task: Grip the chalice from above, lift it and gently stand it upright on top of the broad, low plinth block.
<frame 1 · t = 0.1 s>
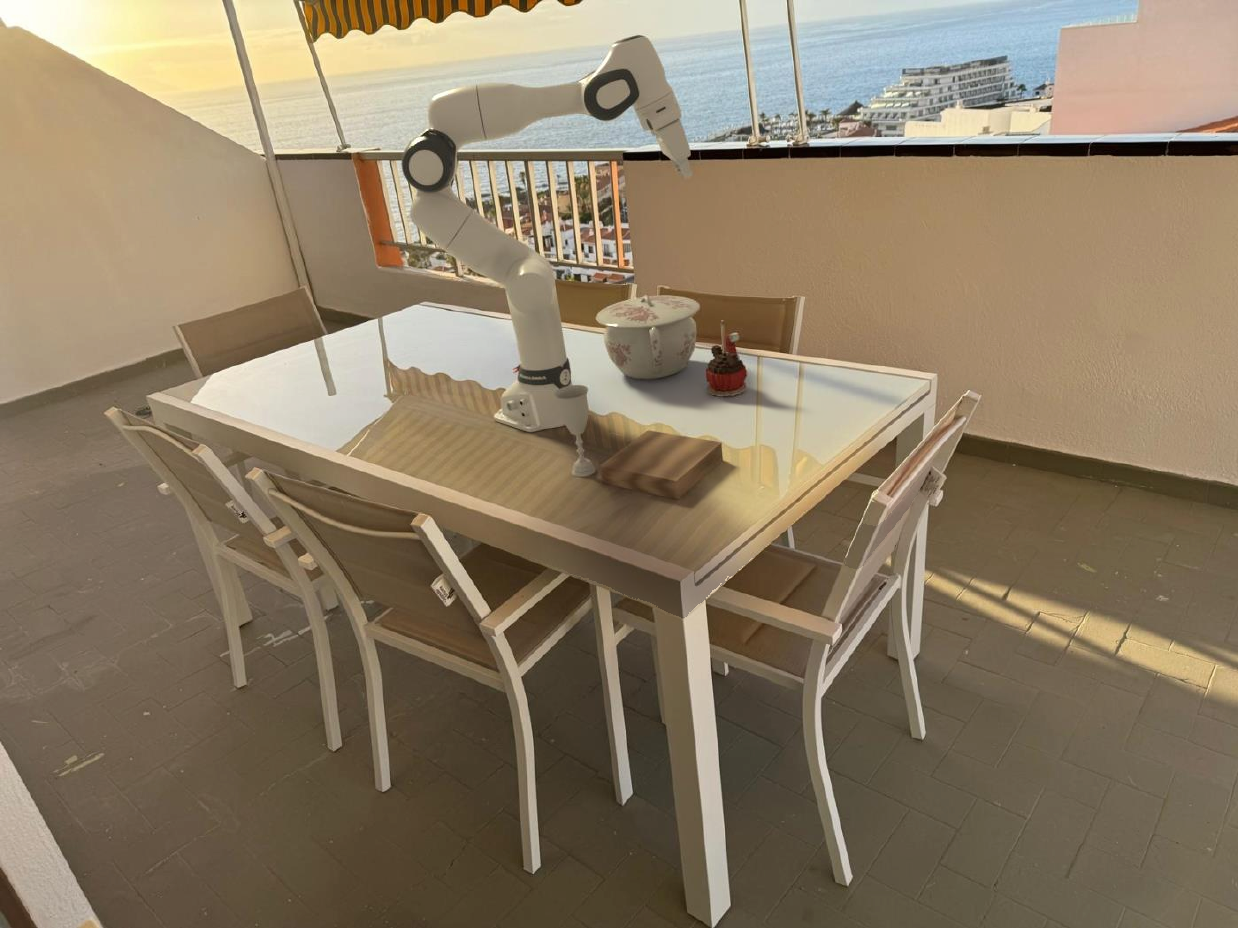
hand: (685, 175, 185), 52 cm above the table, tool tilted 20°, fingers open, 8 cm apart
chamber pot: (653, 371, 227), on the table
plinth: (663, 471, 173), on the table
chalice: (583, 472, 178), on the table
cake: (727, 392, 208), on the table
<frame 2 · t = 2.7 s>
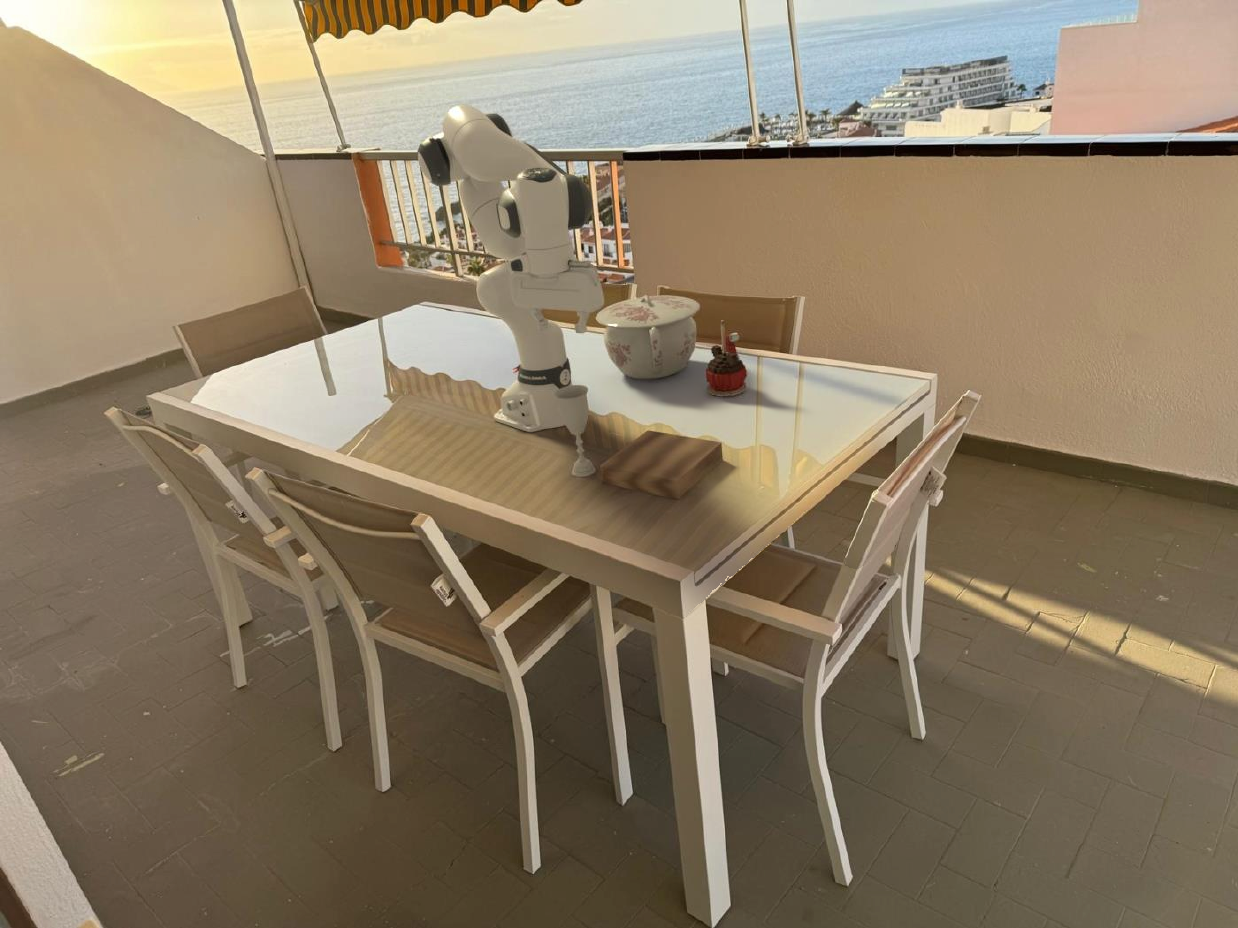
hand: (562, 330, 164), 31 cm above the table, tool pointing down, fingers open, 8 cm apart
nothing on the table moved.
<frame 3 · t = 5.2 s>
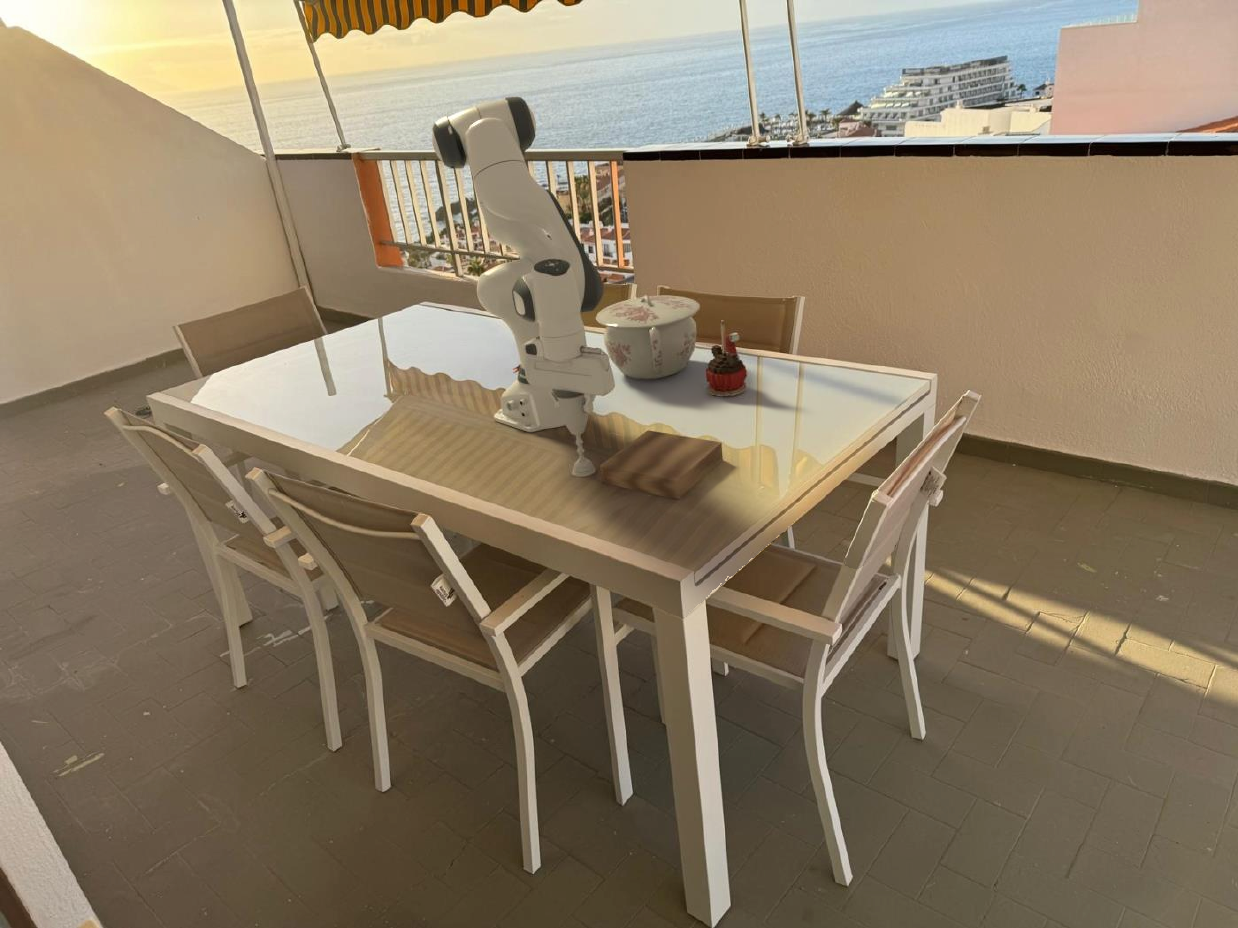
hand: (574, 409, 171), 14 cm above the table, tool pointing down, fingers closed on chalice, 6 cm apart
chalice: (583, 472, 178), on the table, touching gripper
everything else where it was.
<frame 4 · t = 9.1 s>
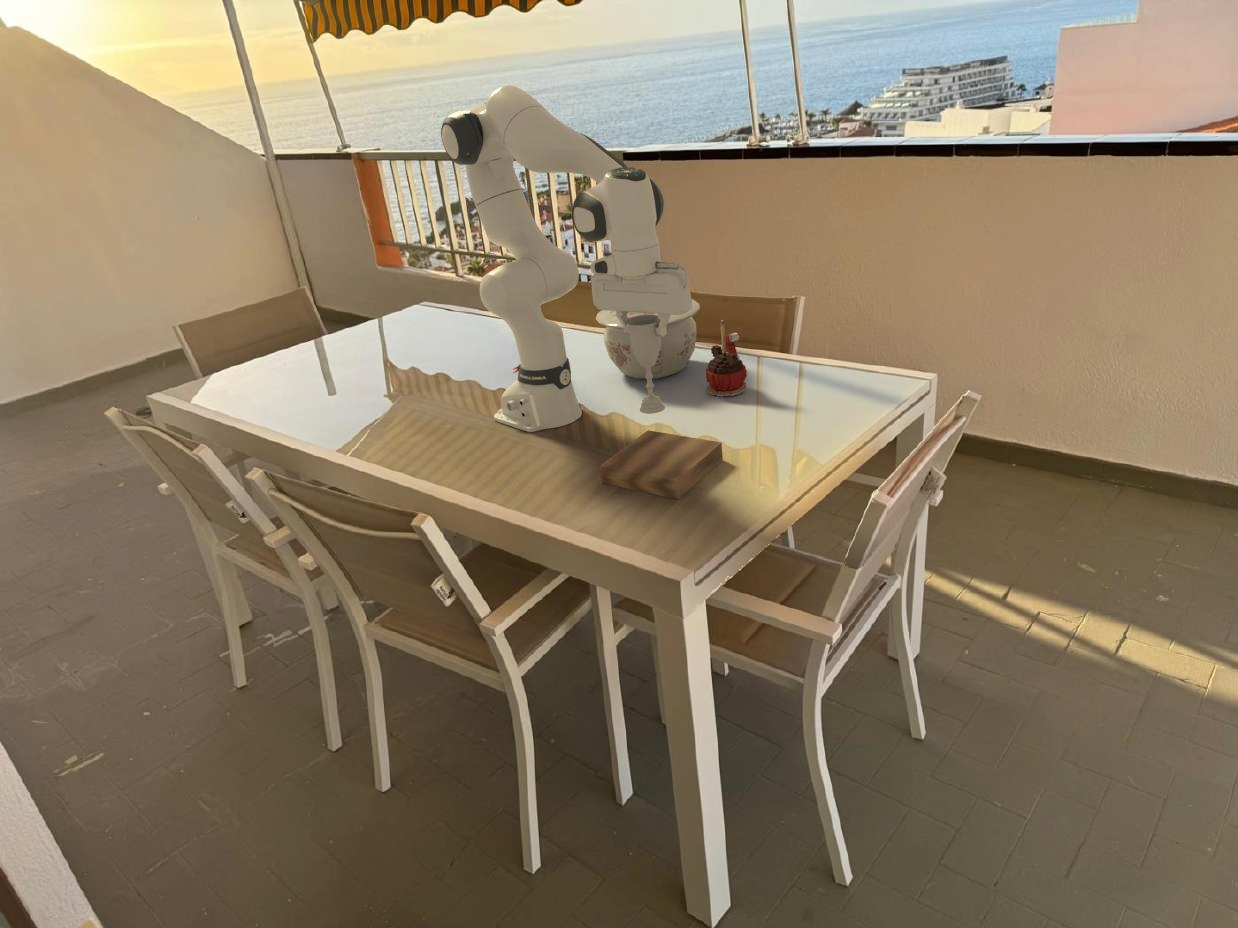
hand: (645, 334, 160), 29 cm above the table, tool pointing down, fingers closed on chalice, 6 cm apart
chalice: (652, 409, 166), point 14 cm above the table, touching gripper
everything else where it was.
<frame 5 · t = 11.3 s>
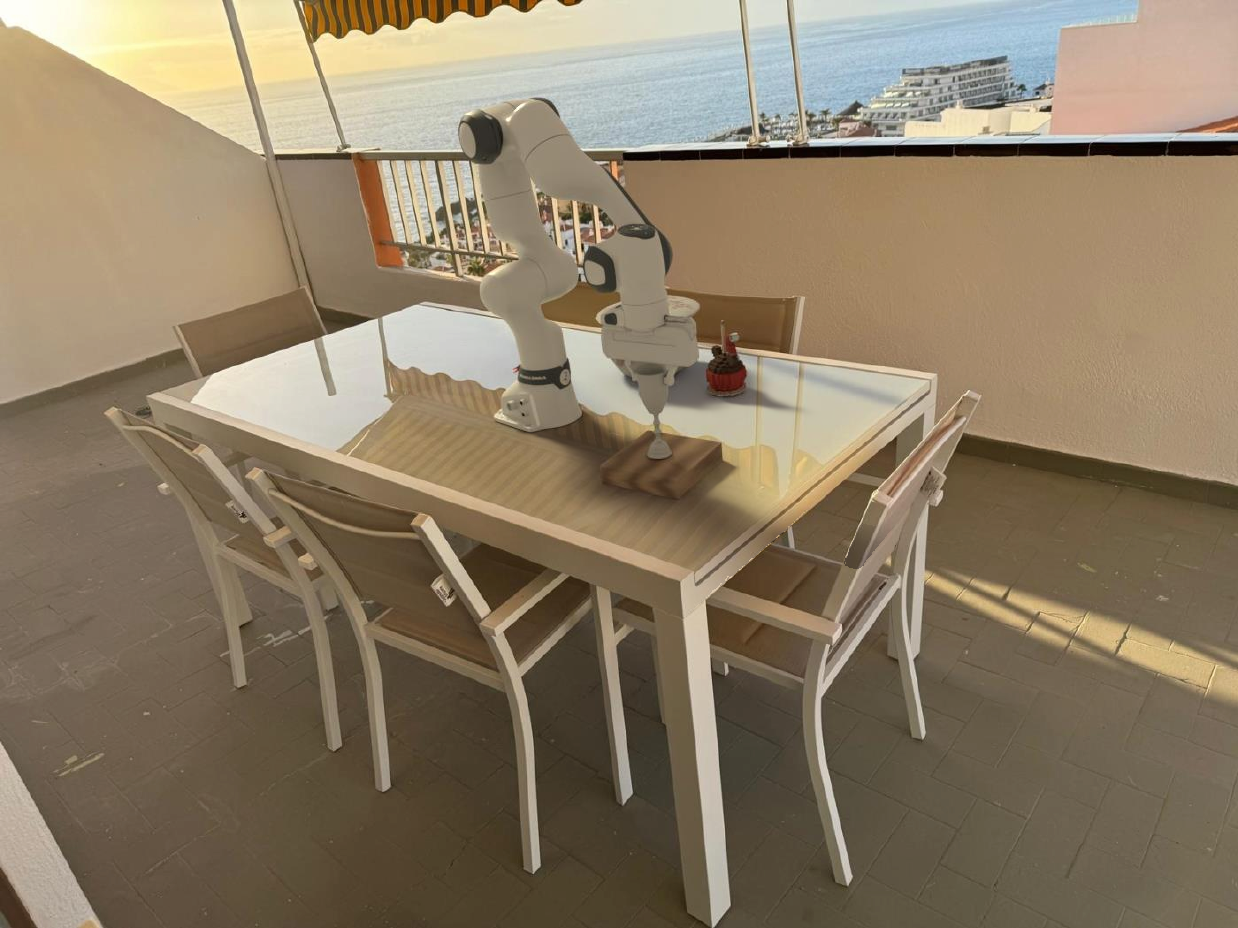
hand: (653, 382, 164), 20 cm above the table, tool pointing down, fingers closed on chalice, 6 cm apart
chalice: (659, 454, 171), point 4 cm above the table, touching gripper
everything else where it was.
when the fingers open (19 cm above the table, at t = 13.0 s): chalice stays where it is, resting on plinth.
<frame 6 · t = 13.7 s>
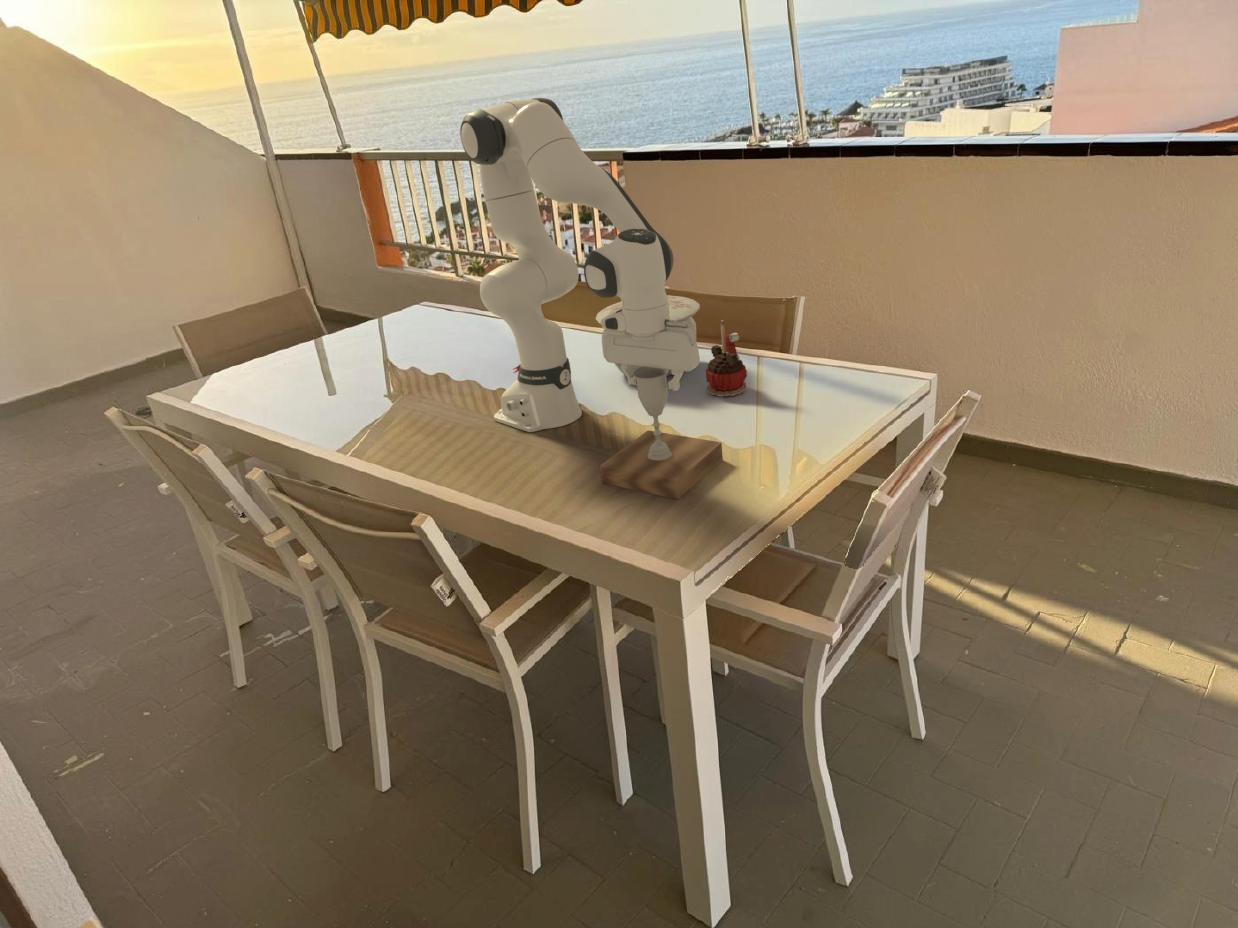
hand: (653, 386, 165), 19 cm above the table, tool pointing down, fingers open, 8 cm apart
chalice: (659, 455, 171), point 4 cm above the table, touching plinth
everything else where it was.
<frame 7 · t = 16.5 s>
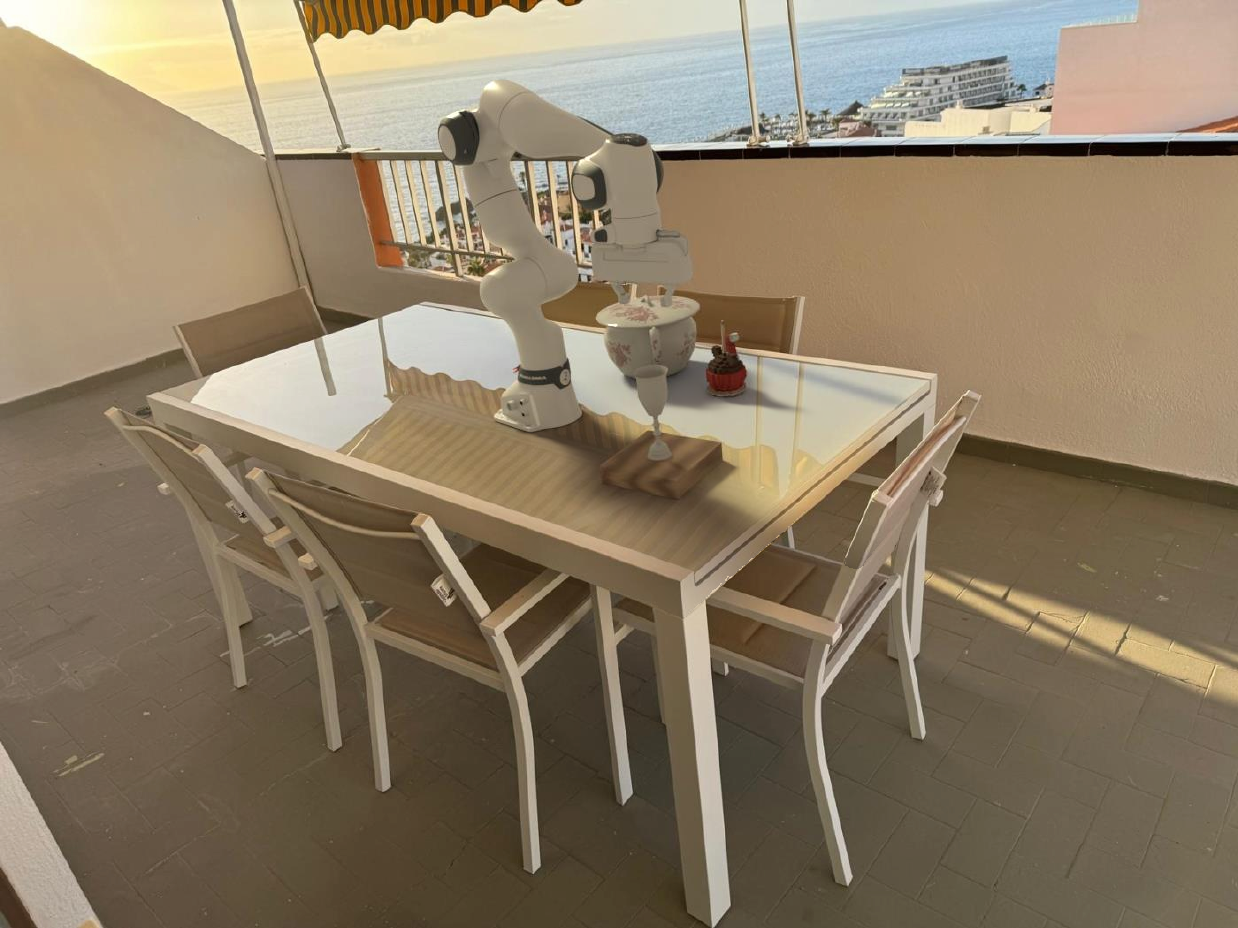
hand: (645, 304, 158), 35 cm above the table, tool pointing down, fingers open, 8 cm apart
nothing on the table moved.
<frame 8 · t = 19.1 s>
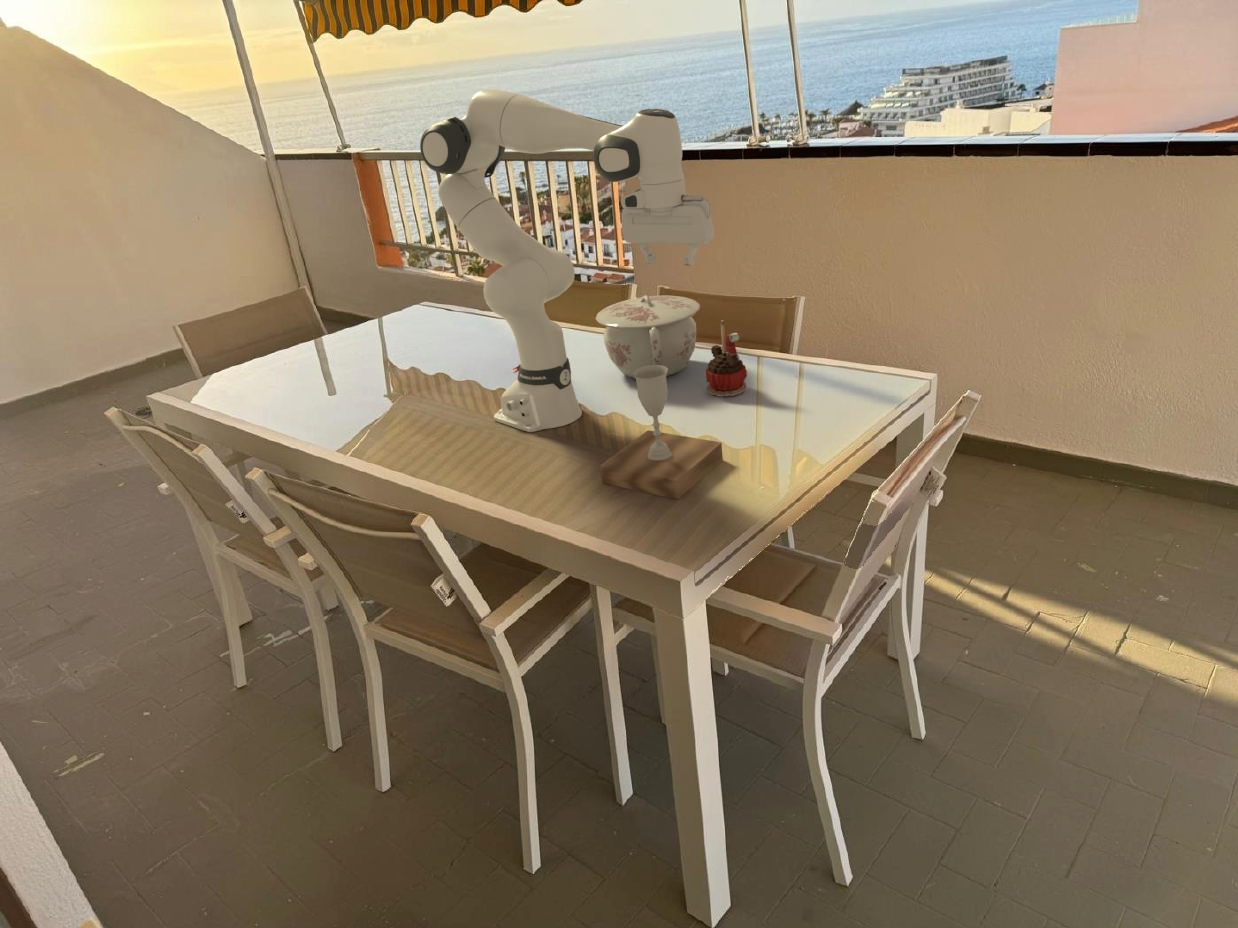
hand: (670, 264, 175), 37 cm above the table, tool pointing down, fingers open, 8 cm apart
nothing on the table moved.
at the end: chalice inside the target area on the plinth (0.5 cm from its centre), point 3.8 cm above the plinth's base; chalice tilted 0°; the gripper is holding nothing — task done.
